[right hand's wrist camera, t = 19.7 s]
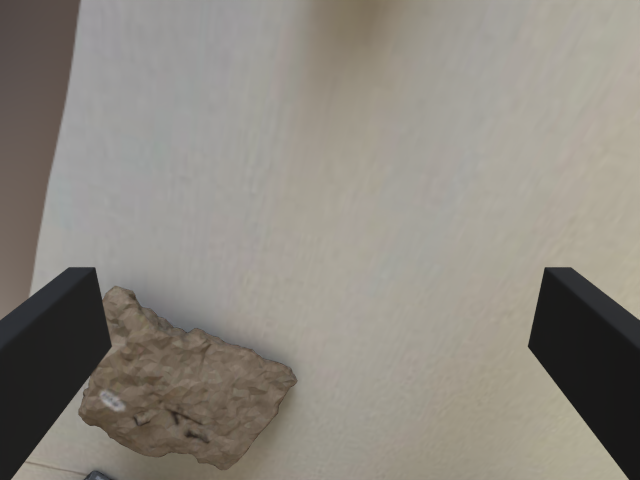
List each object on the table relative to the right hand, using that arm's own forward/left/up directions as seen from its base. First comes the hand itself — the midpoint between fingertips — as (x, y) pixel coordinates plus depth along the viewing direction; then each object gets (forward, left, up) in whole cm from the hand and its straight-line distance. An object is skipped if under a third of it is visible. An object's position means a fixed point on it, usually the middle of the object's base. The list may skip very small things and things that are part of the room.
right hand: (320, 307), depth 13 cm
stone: (-27, 0, -27) cm, 38 cm away
